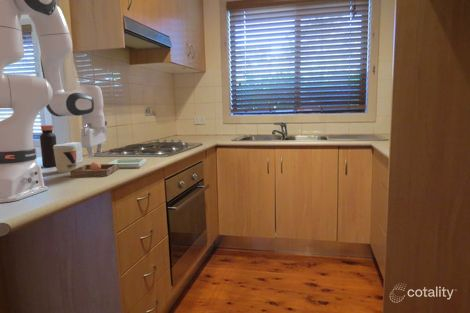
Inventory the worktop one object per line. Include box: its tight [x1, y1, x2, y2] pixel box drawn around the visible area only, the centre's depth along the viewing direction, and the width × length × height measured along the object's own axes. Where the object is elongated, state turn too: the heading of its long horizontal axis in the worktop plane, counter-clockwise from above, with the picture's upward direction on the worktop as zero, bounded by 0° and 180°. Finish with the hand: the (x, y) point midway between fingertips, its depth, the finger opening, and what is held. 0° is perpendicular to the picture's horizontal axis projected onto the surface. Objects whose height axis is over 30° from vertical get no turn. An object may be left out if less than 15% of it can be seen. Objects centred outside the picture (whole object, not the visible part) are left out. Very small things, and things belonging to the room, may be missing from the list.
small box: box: [64, 141, 84, 164], centre depth 171 cm, size 8×6×10 cm
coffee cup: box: [53, 143, 77, 174], centre depth 148 cm, size 9×9×12 cm
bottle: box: [39, 124, 57, 168], centre depth 161 cm, size 7×7×20 cm
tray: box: [107, 158, 147, 170], centre depth 161 cm, size 15×15×2 cm
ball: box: [89, 161, 101, 170], centre depth 143 cm, size 4×4×4 cm
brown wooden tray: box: [69, 163, 119, 178], centre depth 144 cm, size 16×15×2 cm
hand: (95, 155), depth 143 cm, fingers open, 8 cm apart
